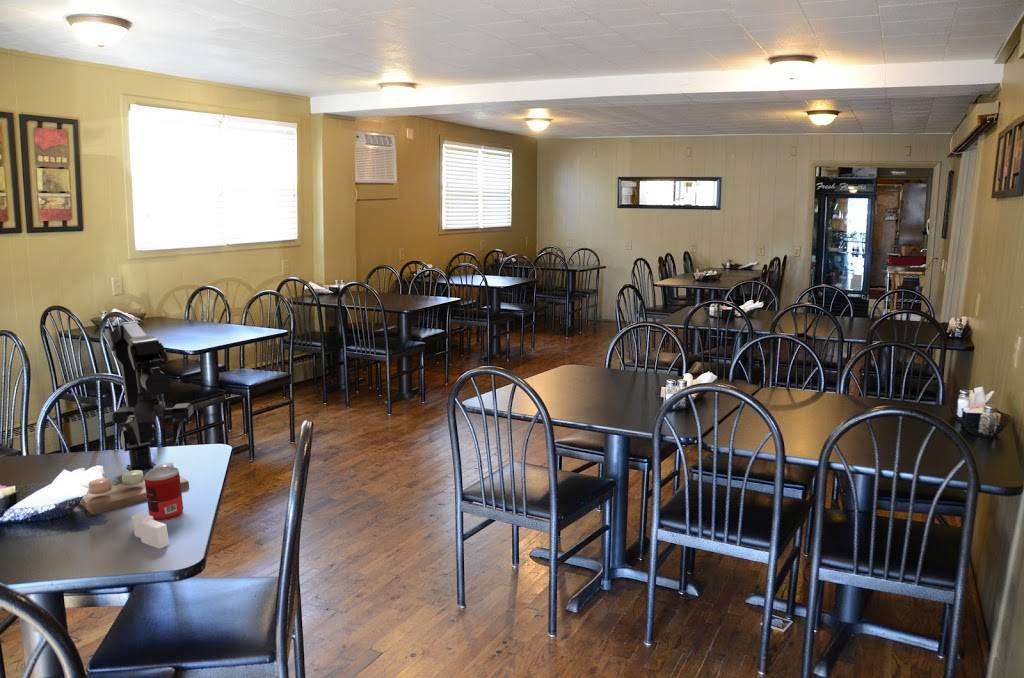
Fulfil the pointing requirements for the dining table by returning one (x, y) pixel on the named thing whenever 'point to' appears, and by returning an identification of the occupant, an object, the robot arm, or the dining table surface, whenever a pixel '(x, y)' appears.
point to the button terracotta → (100, 486)
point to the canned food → (164, 493)
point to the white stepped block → (150, 530)
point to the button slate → (163, 465)
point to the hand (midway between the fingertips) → (157, 444)
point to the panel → (119, 497)
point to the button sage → (132, 477)
